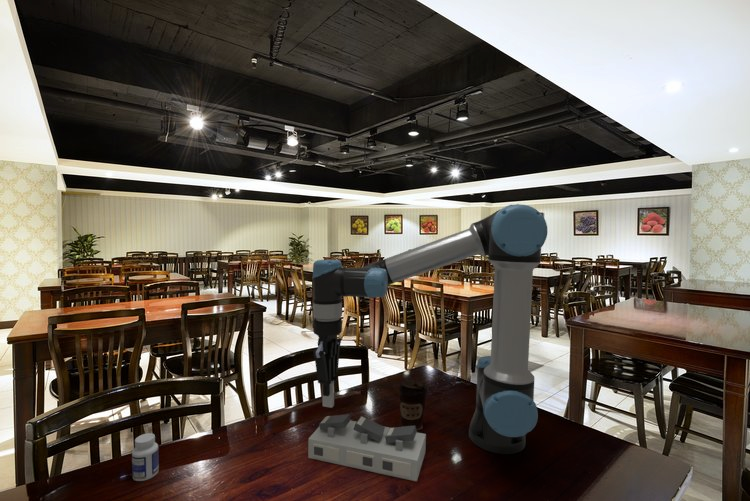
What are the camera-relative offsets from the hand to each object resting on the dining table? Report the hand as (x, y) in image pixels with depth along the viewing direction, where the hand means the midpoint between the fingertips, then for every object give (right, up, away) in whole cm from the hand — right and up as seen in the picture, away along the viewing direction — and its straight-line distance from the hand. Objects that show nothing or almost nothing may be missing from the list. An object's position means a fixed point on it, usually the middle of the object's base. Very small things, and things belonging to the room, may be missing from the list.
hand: (328, 405), depth 99 cm
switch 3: (+19, -6, -6) cm, 21 cm away
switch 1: (+2, -5, 0) cm, 6 cm away
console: (+11, -12, -3) cm, 16 cm away
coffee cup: (+24, -11, +12) cm, 29 cm away
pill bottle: (-41, -11, -12) cm, 45 cm away
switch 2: (+11, -6, -3) cm, 12 cm away
